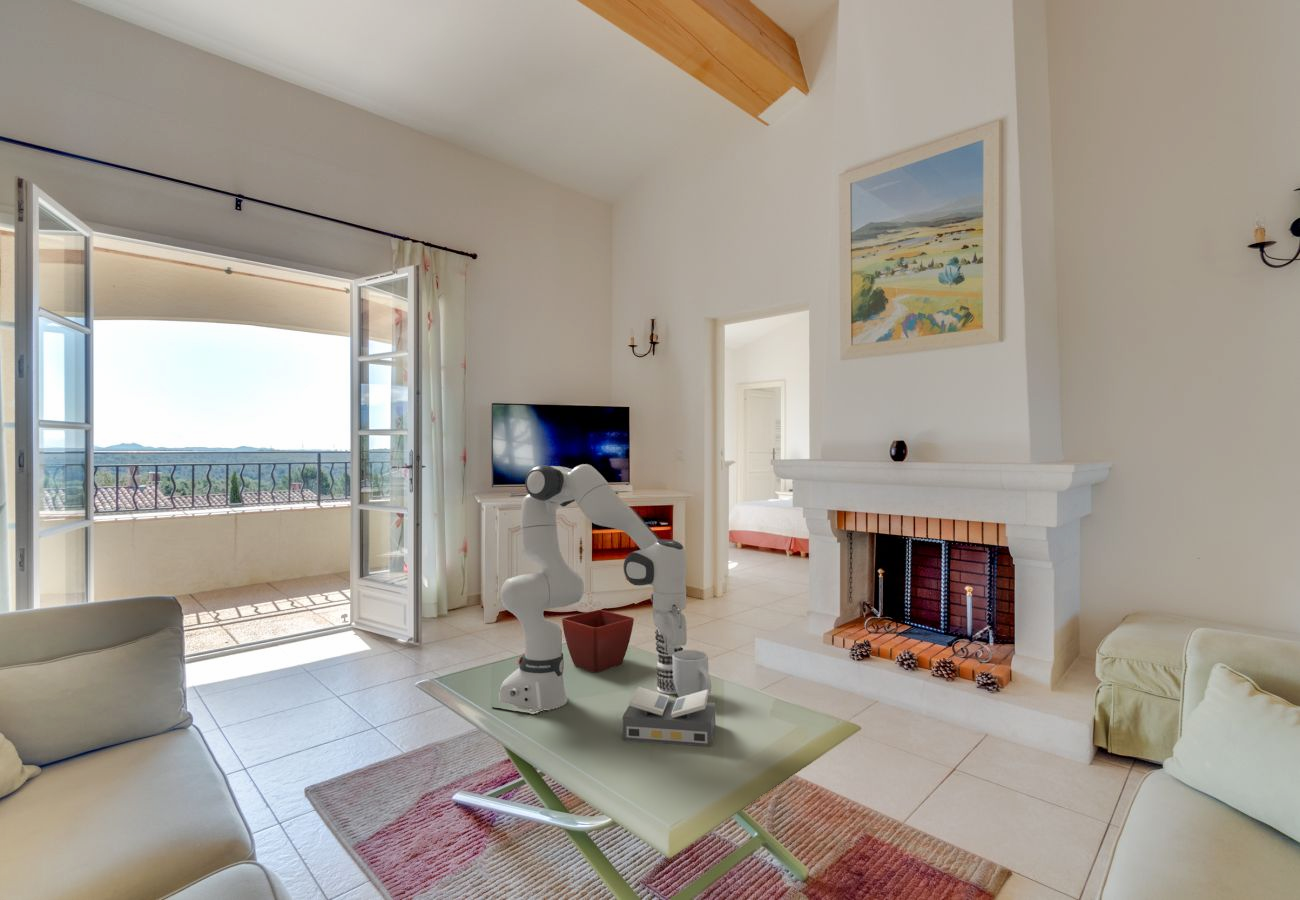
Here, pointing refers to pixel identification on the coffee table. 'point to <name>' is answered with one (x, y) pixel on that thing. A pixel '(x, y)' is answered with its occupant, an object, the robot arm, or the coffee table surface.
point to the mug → (690, 672)
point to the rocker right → (690, 703)
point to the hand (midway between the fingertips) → (669, 652)
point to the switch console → (670, 726)
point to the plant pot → (597, 639)
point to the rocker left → (649, 701)
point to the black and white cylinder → (665, 666)
